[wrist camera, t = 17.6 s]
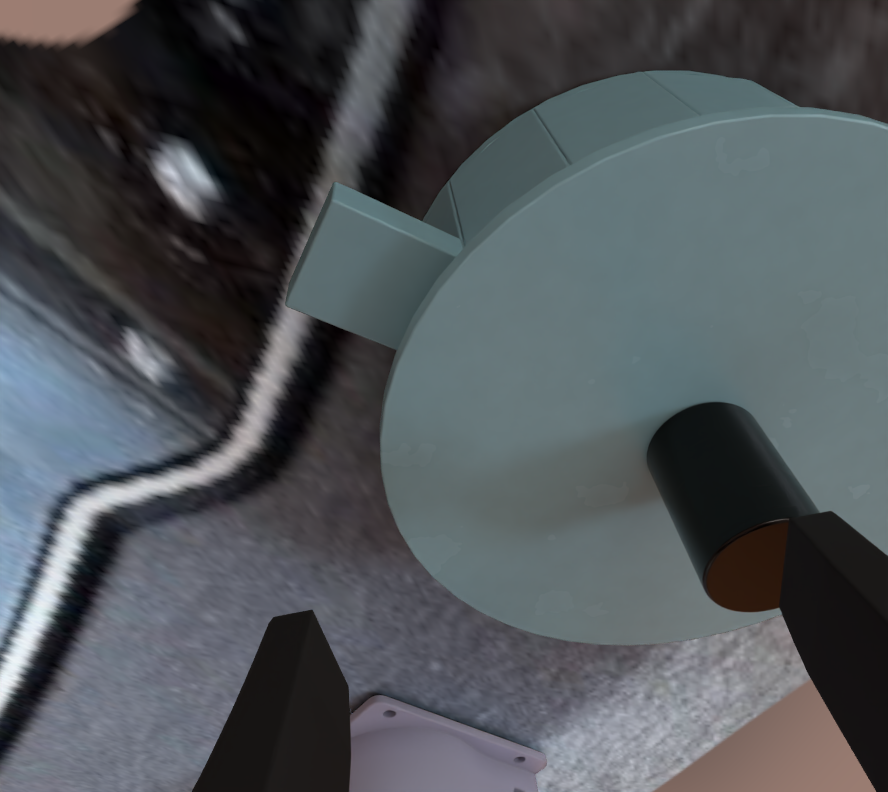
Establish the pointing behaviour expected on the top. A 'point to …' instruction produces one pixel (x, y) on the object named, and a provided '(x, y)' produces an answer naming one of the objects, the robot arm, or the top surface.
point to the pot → (483, 196)
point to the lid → (652, 380)
